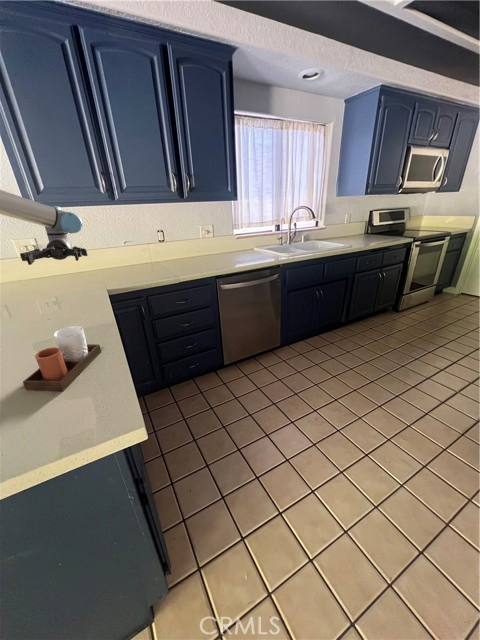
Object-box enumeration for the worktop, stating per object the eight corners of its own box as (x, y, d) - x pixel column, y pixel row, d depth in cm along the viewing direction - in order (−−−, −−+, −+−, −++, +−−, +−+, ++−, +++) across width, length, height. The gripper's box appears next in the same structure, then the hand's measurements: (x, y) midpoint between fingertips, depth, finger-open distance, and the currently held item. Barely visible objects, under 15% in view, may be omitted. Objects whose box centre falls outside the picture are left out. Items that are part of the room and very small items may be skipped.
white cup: (94, 351, 90) (86, 325, 85) (86, 364, 83) (77, 336, 78) (69, 353, 88) (60, 326, 84) (58, 367, 81) (48, 338, 77)
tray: (26, 390, 72) (22, 381, 71) (71, 351, 91) (69, 343, 89) (63, 391, 72) (60, 382, 71) (101, 352, 90) (99, 344, 89)
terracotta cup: (40, 385, 74) (29, 358, 70) (54, 372, 80) (45, 347, 76) (60, 385, 74) (50, 358, 70) (73, 373, 79) (64, 347, 76)
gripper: (95, 255, 113) (96, 265, 96) (23, 261, 103) (11, 273, 86) (91, 237, 110) (91, 244, 93) (17, 241, 100) (2, 250, 83)
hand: (53, 258), depth 89 cm, fingers open, 13 cm apart
